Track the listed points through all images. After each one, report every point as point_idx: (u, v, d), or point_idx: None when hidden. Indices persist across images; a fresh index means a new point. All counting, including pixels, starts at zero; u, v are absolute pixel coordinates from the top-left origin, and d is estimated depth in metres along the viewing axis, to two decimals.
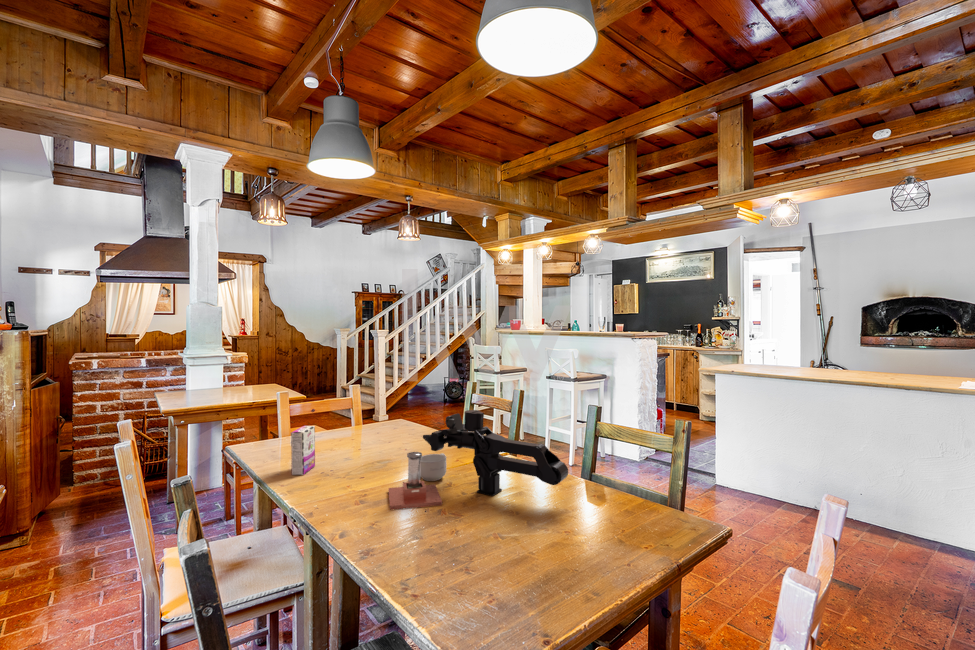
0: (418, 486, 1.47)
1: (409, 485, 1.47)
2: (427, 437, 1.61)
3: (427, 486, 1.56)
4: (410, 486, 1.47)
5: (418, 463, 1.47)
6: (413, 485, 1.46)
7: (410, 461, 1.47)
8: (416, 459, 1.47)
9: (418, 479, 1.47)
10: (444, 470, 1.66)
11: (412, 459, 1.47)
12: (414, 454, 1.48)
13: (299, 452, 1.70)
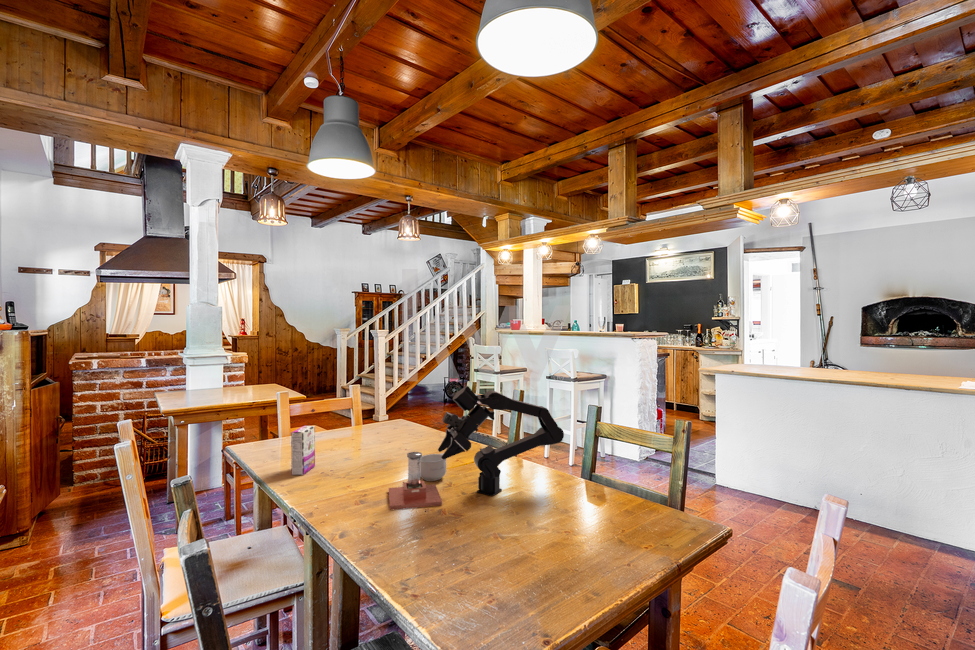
0: (418, 486, 1.47)
1: (409, 485, 1.47)
2: (448, 452, 1.46)
3: (427, 486, 1.56)
4: (410, 486, 1.47)
5: (418, 463, 1.47)
6: (413, 485, 1.46)
7: (410, 461, 1.47)
8: (416, 459, 1.47)
9: (418, 479, 1.47)
10: (444, 470, 1.66)
11: (412, 459, 1.47)
12: (414, 454, 1.48)
13: (299, 452, 1.70)
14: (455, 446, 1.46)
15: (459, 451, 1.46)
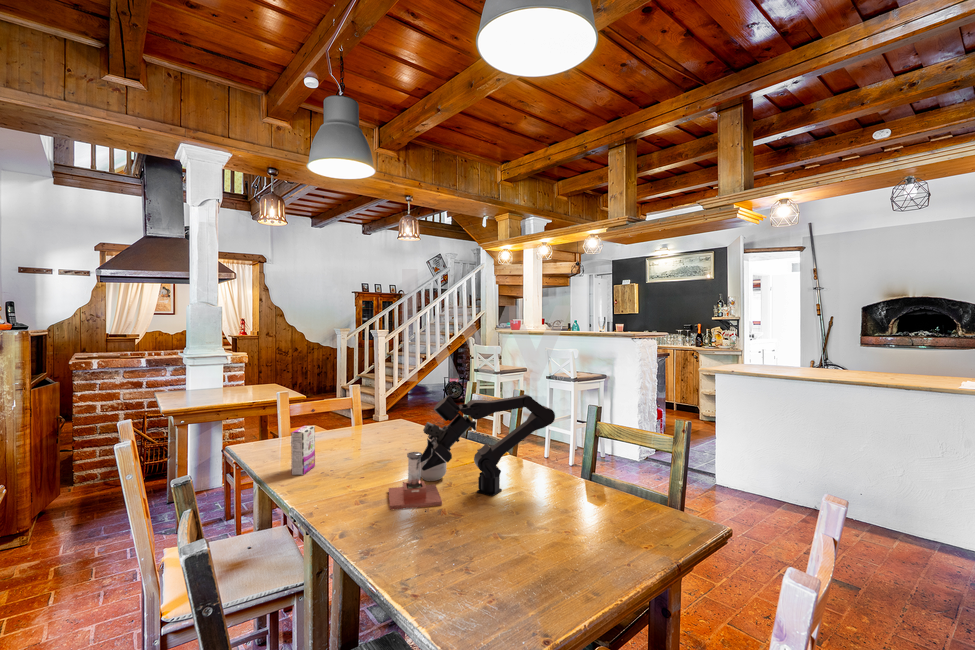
0: (418, 486, 1.47)
1: (409, 485, 1.47)
2: (429, 463, 1.44)
3: (427, 486, 1.56)
4: (410, 486, 1.47)
5: (418, 463, 1.47)
6: (413, 485, 1.46)
7: (410, 461, 1.47)
8: (416, 459, 1.47)
9: (418, 479, 1.47)
10: (444, 470, 1.66)
11: (412, 459, 1.47)
12: (414, 454, 1.48)
13: (299, 452, 1.70)
14: (436, 457, 1.44)
15: (440, 462, 1.44)
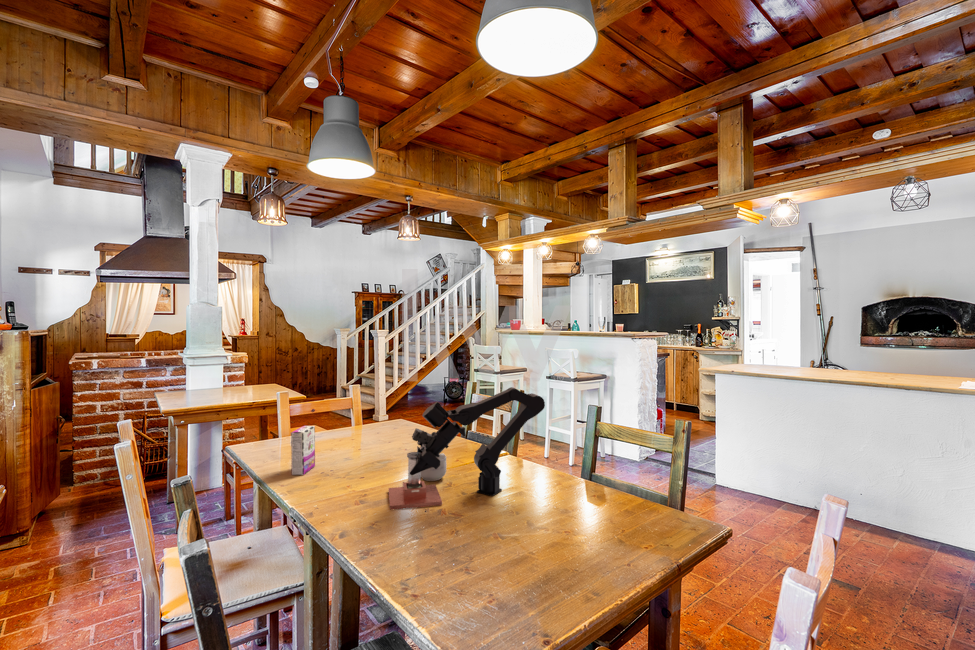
0: (418, 486, 1.47)
1: (409, 485, 1.47)
2: (416, 468, 1.46)
3: (427, 486, 1.56)
4: (410, 486, 1.47)
5: None
6: (413, 485, 1.46)
7: (410, 461, 1.47)
8: (416, 459, 1.47)
9: (418, 479, 1.47)
10: (444, 470, 1.66)
11: (412, 459, 1.47)
12: (414, 454, 1.48)
13: (299, 452, 1.70)
14: (423, 462, 1.46)
15: (427, 467, 1.46)
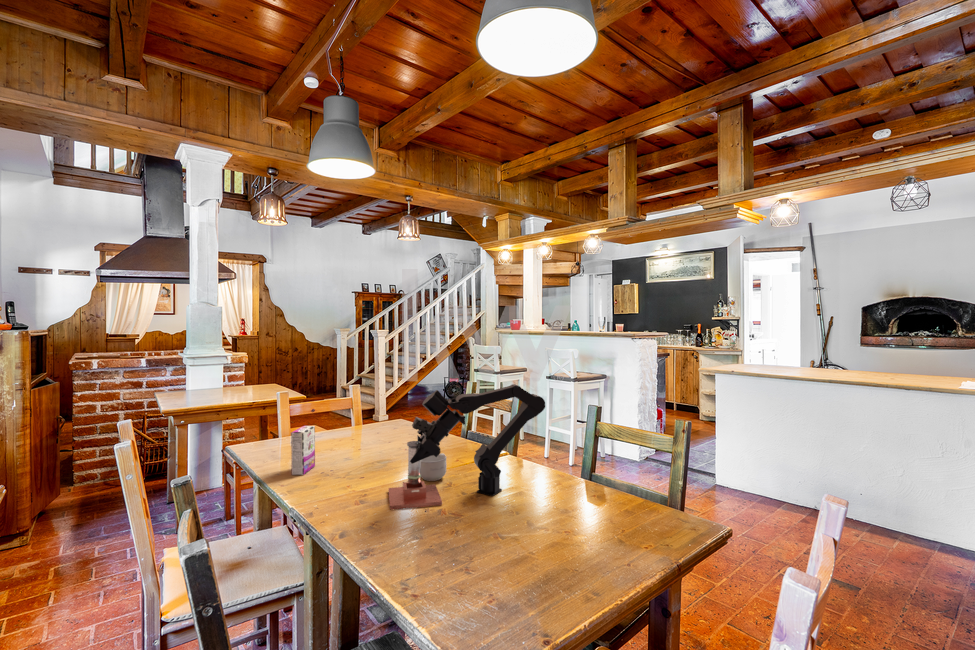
0: (418, 475, 1.47)
1: (409, 474, 1.47)
2: (417, 456, 1.46)
3: (427, 486, 1.56)
4: (410, 475, 1.47)
5: None
6: (413, 474, 1.47)
7: (410, 449, 1.47)
8: (416, 448, 1.47)
9: (418, 468, 1.47)
10: (444, 470, 1.66)
11: (412, 448, 1.47)
12: (414, 443, 1.48)
13: (299, 452, 1.70)
14: (423, 450, 1.46)
15: (427, 455, 1.46)
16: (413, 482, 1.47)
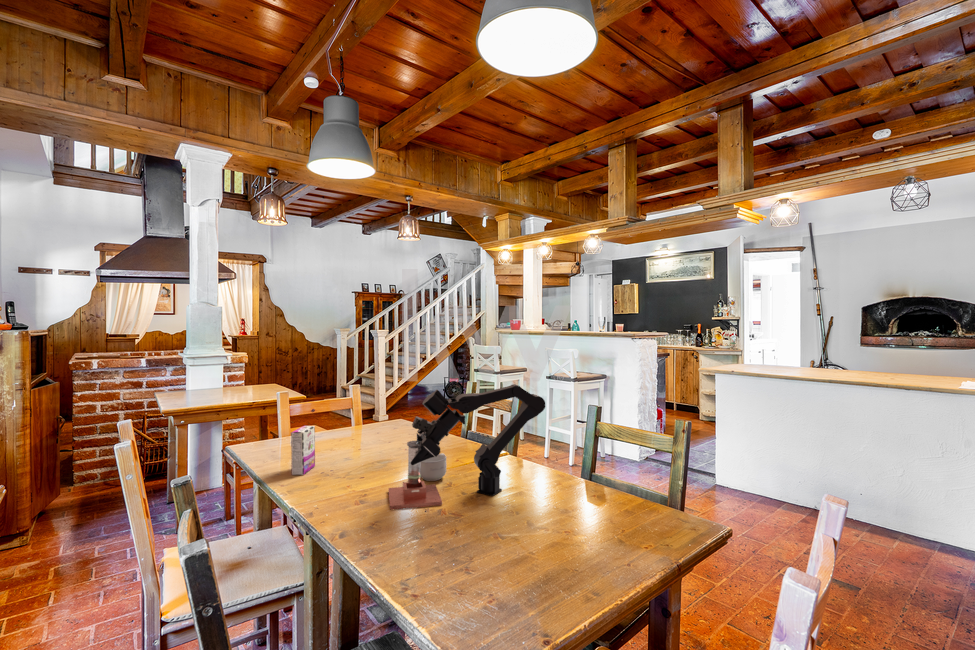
0: (418, 475, 1.47)
1: (409, 474, 1.47)
2: (417, 457, 1.43)
3: (427, 486, 1.56)
4: (410, 475, 1.47)
5: None
6: (413, 474, 1.47)
7: (410, 449, 1.47)
8: (416, 448, 1.47)
9: (418, 468, 1.47)
10: (444, 470, 1.66)
11: (412, 448, 1.47)
12: (414, 443, 1.48)
13: (299, 452, 1.70)
14: (424, 451, 1.44)
15: (428, 456, 1.43)
16: (413, 482, 1.47)
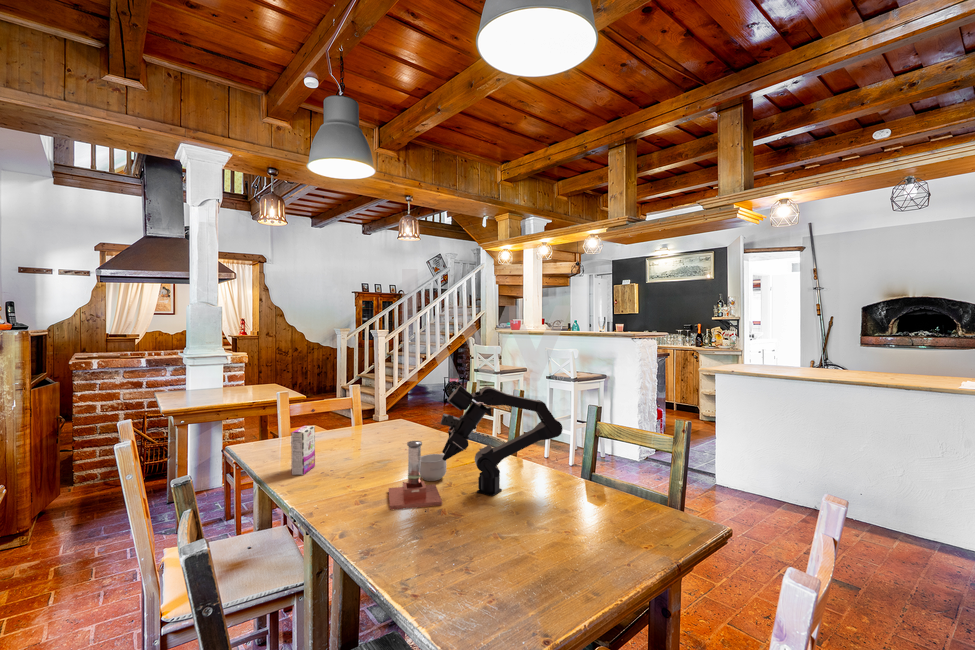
0: (418, 475, 1.47)
1: (409, 474, 1.47)
2: (448, 453, 1.47)
3: (427, 486, 1.56)
4: (410, 475, 1.47)
5: (418, 452, 1.47)
6: (413, 474, 1.47)
7: (410, 449, 1.47)
8: (416, 448, 1.47)
9: (418, 468, 1.47)
10: (444, 470, 1.66)
11: (412, 448, 1.47)
12: (414, 443, 1.48)
13: (299, 452, 1.70)
14: (454, 446, 1.47)
15: (458, 451, 1.47)
16: (413, 482, 1.47)
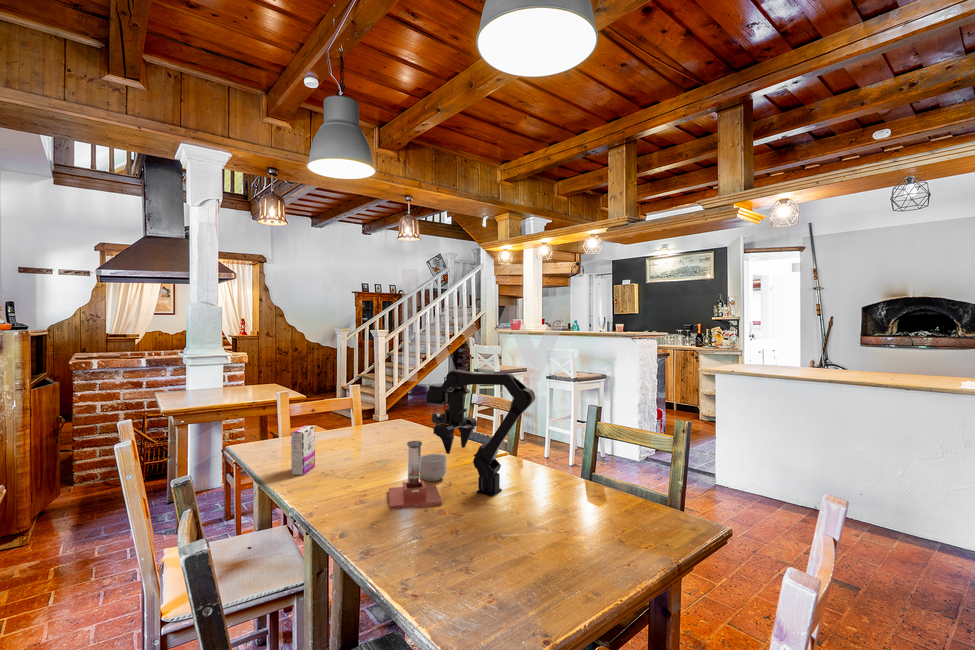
0: (418, 475, 1.47)
1: (409, 474, 1.47)
2: (445, 445, 1.54)
3: (427, 486, 1.56)
4: (410, 475, 1.47)
5: (418, 452, 1.47)
6: (413, 474, 1.47)
7: (410, 449, 1.47)
8: (416, 448, 1.47)
9: (418, 468, 1.47)
10: (444, 470, 1.66)
11: (412, 448, 1.47)
12: (414, 443, 1.48)
13: (299, 452, 1.70)
14: (446, 437, 1.53)
15: (449, 439, 1.52)
16: (413, 482, 1.47)
